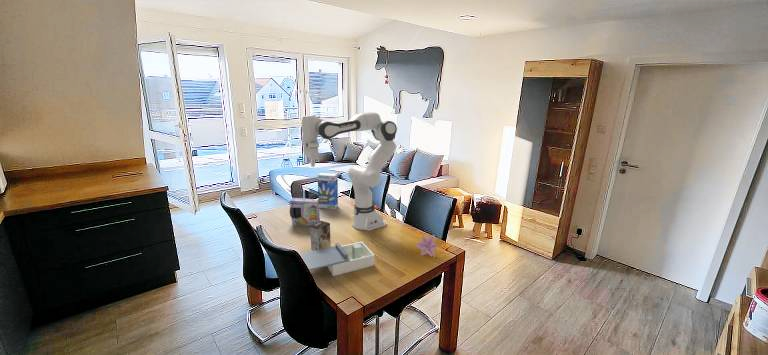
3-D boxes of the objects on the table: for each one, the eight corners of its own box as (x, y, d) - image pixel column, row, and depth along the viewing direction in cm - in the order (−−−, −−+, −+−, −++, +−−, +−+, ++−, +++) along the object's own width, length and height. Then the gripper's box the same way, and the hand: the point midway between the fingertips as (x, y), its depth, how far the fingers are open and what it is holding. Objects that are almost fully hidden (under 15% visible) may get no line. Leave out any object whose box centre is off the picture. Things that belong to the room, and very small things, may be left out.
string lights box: (318, 208, 234) (317, 174, 227) (321, 204, 242) (320, 172, 235) (335, 209, 232) (334, 175, 225) (338, 205, 240) (337, 173, 233)
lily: (411, 253, 175) (413, 243, 168) (422, 238, 182) (424, 229, 175) (430, 264, 171) (433, 255, 164) (440, 249, 177) (443, 240, 171)
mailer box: (361, 251, 173) (361, 241, 172) (374, 265, 160) (374, 254, 158) (323, 260, 164) (322, 250, 162) (333, 276, 150) (332, 265, 148)
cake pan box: (290, 224, 205) (288, 199, 200) (293, 221, 210) (291, 196, 205) (317, 227, 202) (316, 201, 197) (320, 224, 206) (319, 199, 202)
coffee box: (322, 246, 178) (321, 220, 174) (331, 249, 175) (330, 222, 171) (310, 252, 171) (309, 225, 166) (319, 256, 168) (318, 228, 163)
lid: (338, 246, 166) (338, 241, 165) (349, 260, 152) (349, 255, 151) (296, 255, 156) (296, 250, 155) (304, 271, 142) (304, 266, 141)
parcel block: (359, 257, 166) (359, 243, 164) (362, 260, 163) (362, 246, 161) (352, 258, 165) (352, 244, 162) (355, 262, 161) (355, 248, 159)
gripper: (300, 140, 196) (301, 161, 199) (309, 145, 178) (310, 169, 182) (310, 139, 198) (311, 160, 202) (319, 144, 181) (320, 167, 185)
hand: (310, 164), depth 192 cm, fingers open, 8 cm apart
